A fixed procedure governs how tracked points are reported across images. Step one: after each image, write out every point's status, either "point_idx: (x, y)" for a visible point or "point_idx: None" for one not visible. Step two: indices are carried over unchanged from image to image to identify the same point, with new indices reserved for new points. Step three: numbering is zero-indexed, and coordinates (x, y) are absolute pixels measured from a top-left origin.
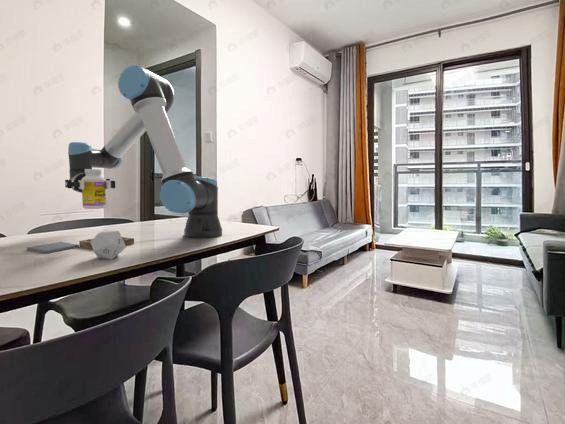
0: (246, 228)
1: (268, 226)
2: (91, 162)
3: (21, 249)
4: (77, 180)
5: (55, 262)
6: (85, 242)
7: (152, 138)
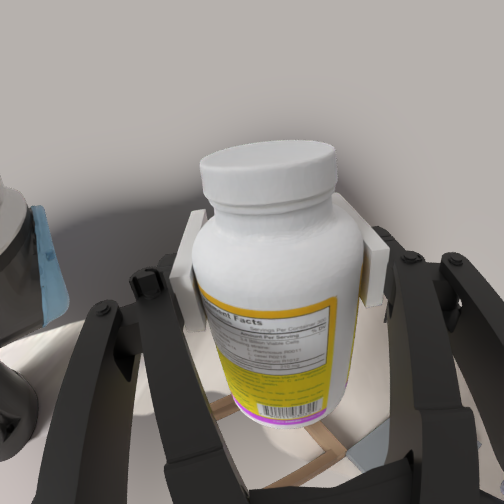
0: None
1: None
2: None
3: (493, 457)
4: (444, 338)
5: (365, 318)
6: (325, 428)
7: None
